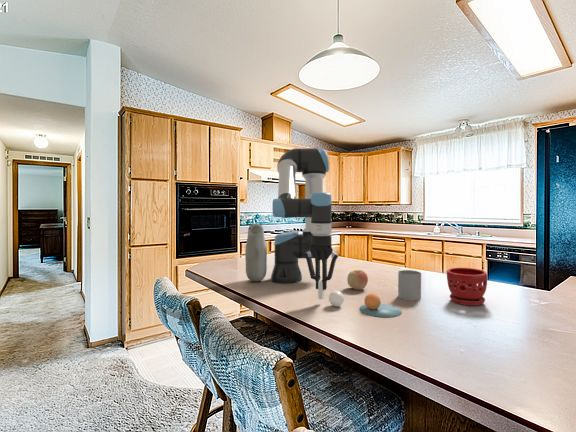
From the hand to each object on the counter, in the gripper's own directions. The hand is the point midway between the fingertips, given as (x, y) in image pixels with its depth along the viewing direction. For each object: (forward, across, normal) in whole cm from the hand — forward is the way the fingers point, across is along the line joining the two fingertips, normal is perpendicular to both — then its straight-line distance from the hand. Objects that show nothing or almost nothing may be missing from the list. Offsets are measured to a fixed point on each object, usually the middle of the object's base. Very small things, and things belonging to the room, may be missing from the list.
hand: (321, 298), depth 117 cm
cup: (+3, +31, +20) cm, 37 cm away
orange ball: (-1, +18, 0) cm, 18 cm away
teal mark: (+2, +21, 0) cm, 21 cm away
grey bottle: (+3, -38, +24) cm, 46 cm away
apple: (+3, +10, +26) cm, 28 cm away
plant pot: (+3, +51, +20) cm, 55 cm away
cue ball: (-1, +6, -1) cm, 6 cm away
